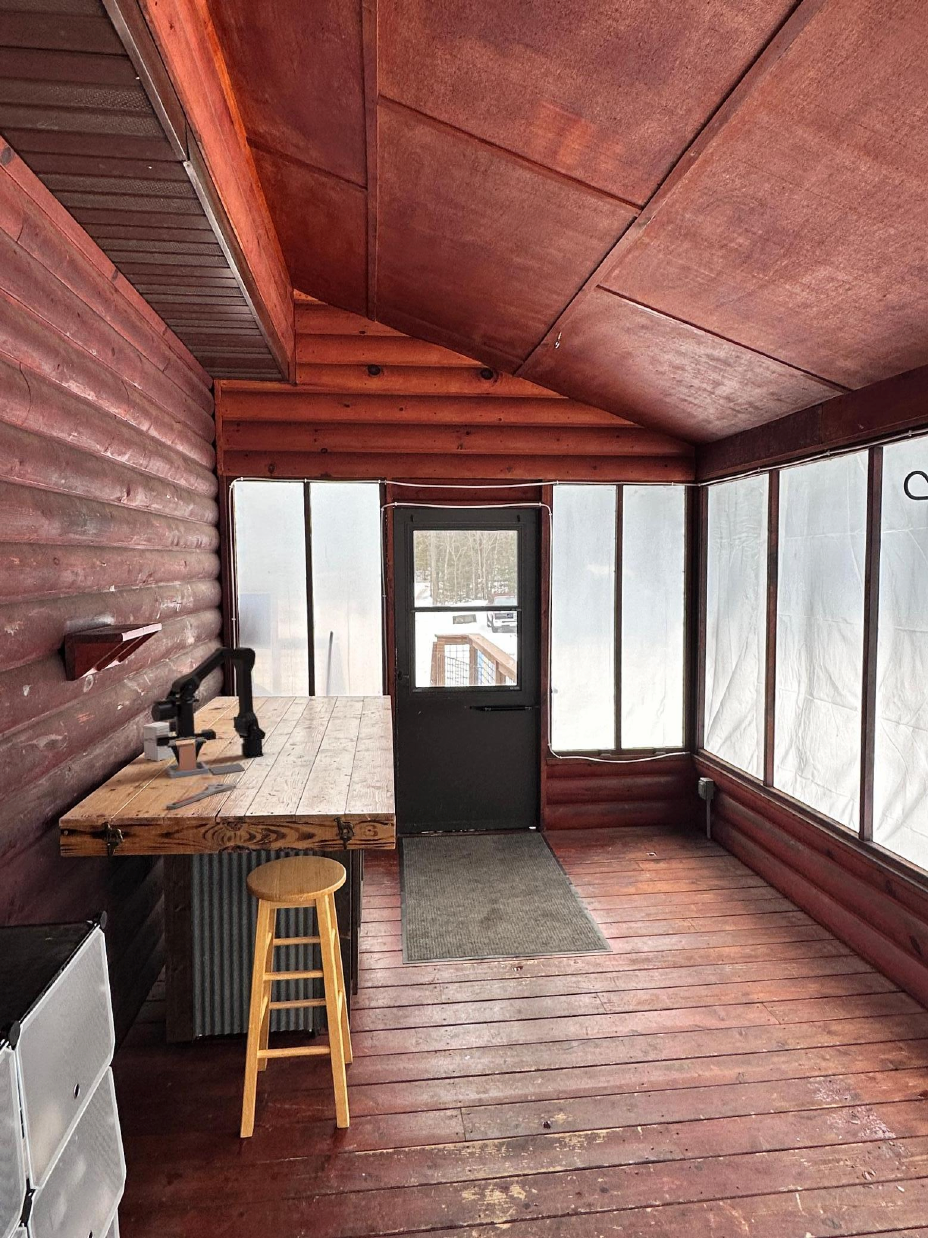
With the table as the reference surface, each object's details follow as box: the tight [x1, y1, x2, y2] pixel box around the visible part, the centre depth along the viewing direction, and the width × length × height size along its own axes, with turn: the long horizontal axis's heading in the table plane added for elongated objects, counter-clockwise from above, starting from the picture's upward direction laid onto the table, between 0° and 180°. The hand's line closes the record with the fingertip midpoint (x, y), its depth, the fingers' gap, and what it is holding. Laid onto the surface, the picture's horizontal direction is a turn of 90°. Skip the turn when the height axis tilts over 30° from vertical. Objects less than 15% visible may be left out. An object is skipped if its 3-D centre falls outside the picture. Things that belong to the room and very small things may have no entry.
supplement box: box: [142, 721, 175, 762], centre depth 264 cm, size 7×7×13 cm
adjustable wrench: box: [165, 779, 238, 810], centre depth 218 cm, size 8×26×2 cm, turn 149°
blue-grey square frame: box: [166, 760, 209, 779], centre depth 246 cm, size 12×12×2 cm
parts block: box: [176, 742, 197, 772], centre depth 246 cm, size 5×5×9 cm
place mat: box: [208, 762, 246, 776], centre depth 247 cm, size 10×10×1 cm
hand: (187, 762), depth 246 cm, fingers closed on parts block, 5 cm apart
